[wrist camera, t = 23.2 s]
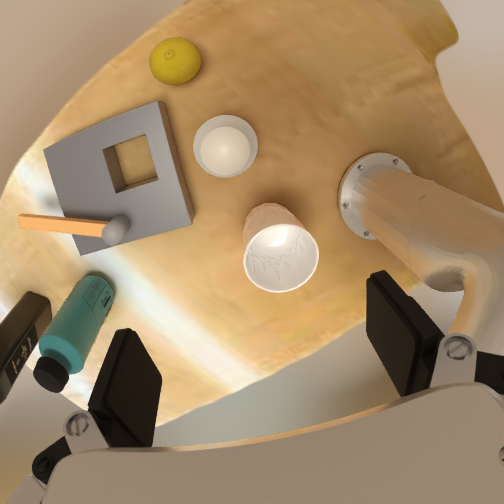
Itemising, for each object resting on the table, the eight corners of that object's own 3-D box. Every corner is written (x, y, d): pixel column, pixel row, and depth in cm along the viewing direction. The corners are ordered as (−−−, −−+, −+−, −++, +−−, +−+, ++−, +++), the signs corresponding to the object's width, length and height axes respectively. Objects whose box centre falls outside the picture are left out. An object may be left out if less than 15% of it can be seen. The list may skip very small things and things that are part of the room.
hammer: (30, 223, 32) (15, 233, 29) (28, 206, 31) (13, 215, 28) (130, 233, 34) (120, 246, 31) (130, 215, 33) (120, 226, 30)
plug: (247, 110, 33) (254, 106, 24) (258, 162, 36) (270, 178, 27) (192, 123, 33) (178, 124, 24) (205, 175, 36) (197, 195, 27)
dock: (164, 102, 32) (157, 100, 28) (195, 214, 38) (191, 225, 35) (58, 145, 32) (43, 149, 28) (91, 243, 38) (80, 255, 35)
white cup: (240, 254, 41) (244, 294, 32) (238, 198, 38) (242, 225, 29) (296, 252, 42) (315, 290, 33) (299, 197, 38) (321, 222, 29)
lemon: (212, 72, 31) (208, 59, 23) (172, 96, 32) (158, 91, 24) (189, 39, 28) (179, 19, 21) (150, 63, 29) (131, 50, 22)
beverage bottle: (74, 274, 40) (11, 362, 22) (107, 263, 40) (47, 359, 22) (93, 308, 43) (45, 401, 25) (125, 300, 43) (83, 402, 25)
